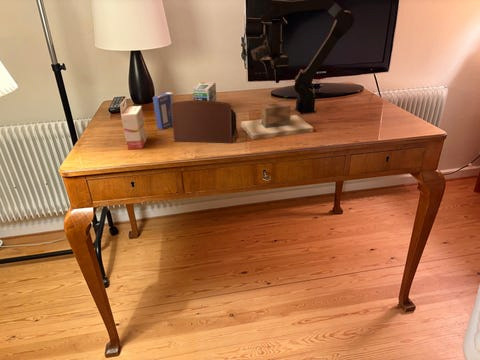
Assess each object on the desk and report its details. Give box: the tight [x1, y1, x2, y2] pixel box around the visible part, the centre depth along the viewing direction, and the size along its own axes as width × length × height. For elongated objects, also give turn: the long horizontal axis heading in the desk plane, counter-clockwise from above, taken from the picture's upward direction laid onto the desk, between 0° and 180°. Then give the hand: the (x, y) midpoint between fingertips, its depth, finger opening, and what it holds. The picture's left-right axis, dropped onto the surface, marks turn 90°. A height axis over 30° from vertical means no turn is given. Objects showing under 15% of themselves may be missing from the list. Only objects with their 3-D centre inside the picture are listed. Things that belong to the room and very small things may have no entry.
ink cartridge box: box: [119, 97, 147, 150], centre depth 110 cm, size 9×5×15 cm, turn 5°
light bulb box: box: [192, 81, 217, 101], centre depth 139 cm, size 11×7×11 cm, turn 168°
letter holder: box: [170, 99, 238, 144], centre depth 114 cm, size 10×20×14 cm, turn 82°
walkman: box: [152, 91, 175, 131], centre depth 125 cm, size 8×3×12 cm, turn 144°
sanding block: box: [260, 101, 292, 128], centre depth 120 cm, size 9×4×7 cm, turn 106°
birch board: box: [240, 114, 314, 140], centre depth 122 cm, size 22×14×2 cm, turn 106°
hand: (272, 80), depth 135 cm, fingers open, 9 cm apart
